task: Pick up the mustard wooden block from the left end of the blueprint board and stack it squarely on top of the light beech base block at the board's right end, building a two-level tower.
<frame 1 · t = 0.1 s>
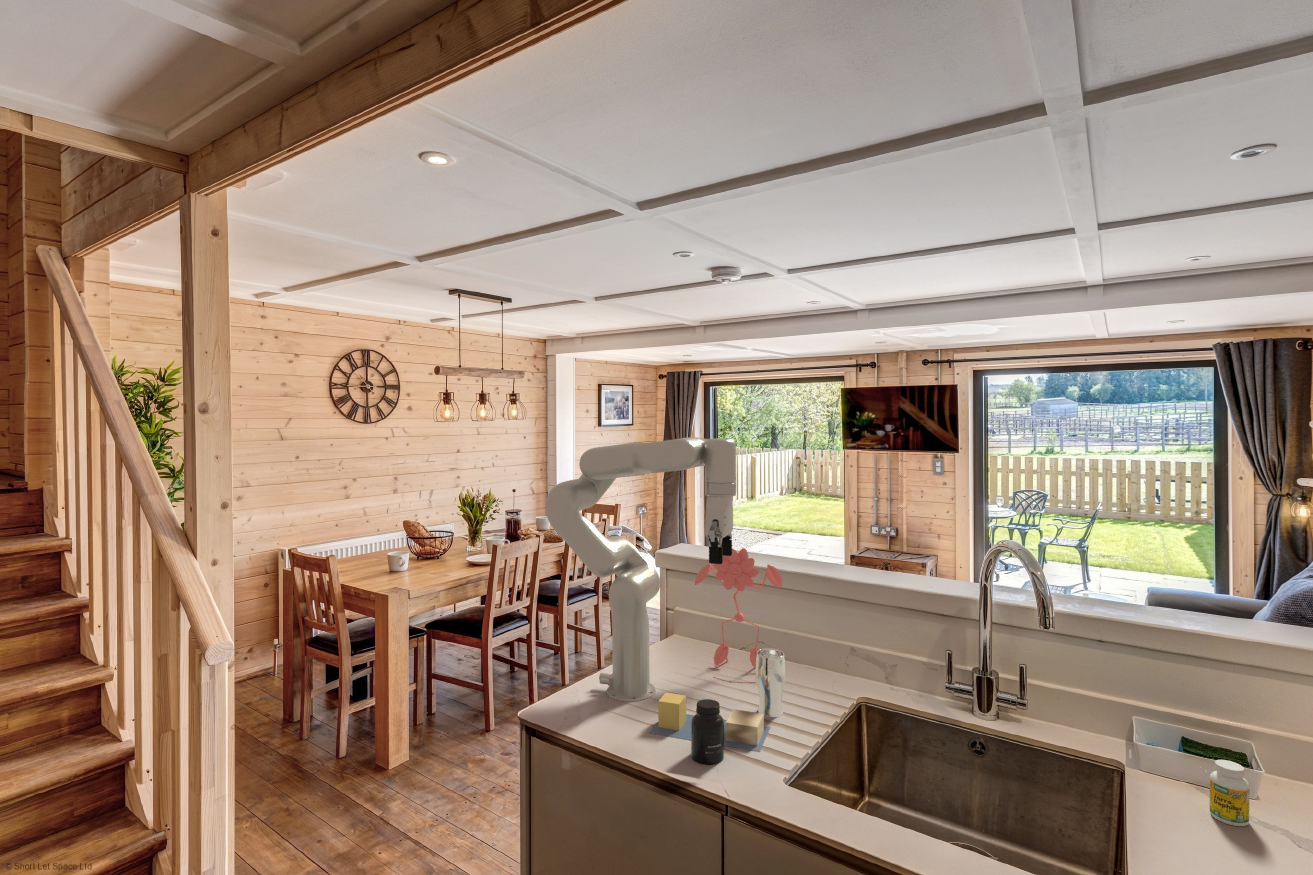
hand: (720, 559, 165), 37 cm above the worktop, tool pointing down, fingers open, 9 cm apart
blueprint board: (710, 733, 153), on the worktop
supplement bottle 2: (1228, 819, 120), on the worktop
beer glass: (770, 715, 162), on the worktop
beech base block: (745, 735, 150), resting on blueprint board
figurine: (735, 672, 189), on the worktop
mustard block: (672, 723, 156), point 1 cm above the worktop, touching blueprint board
supplement bottle: (707, 761, 141), on the worktop
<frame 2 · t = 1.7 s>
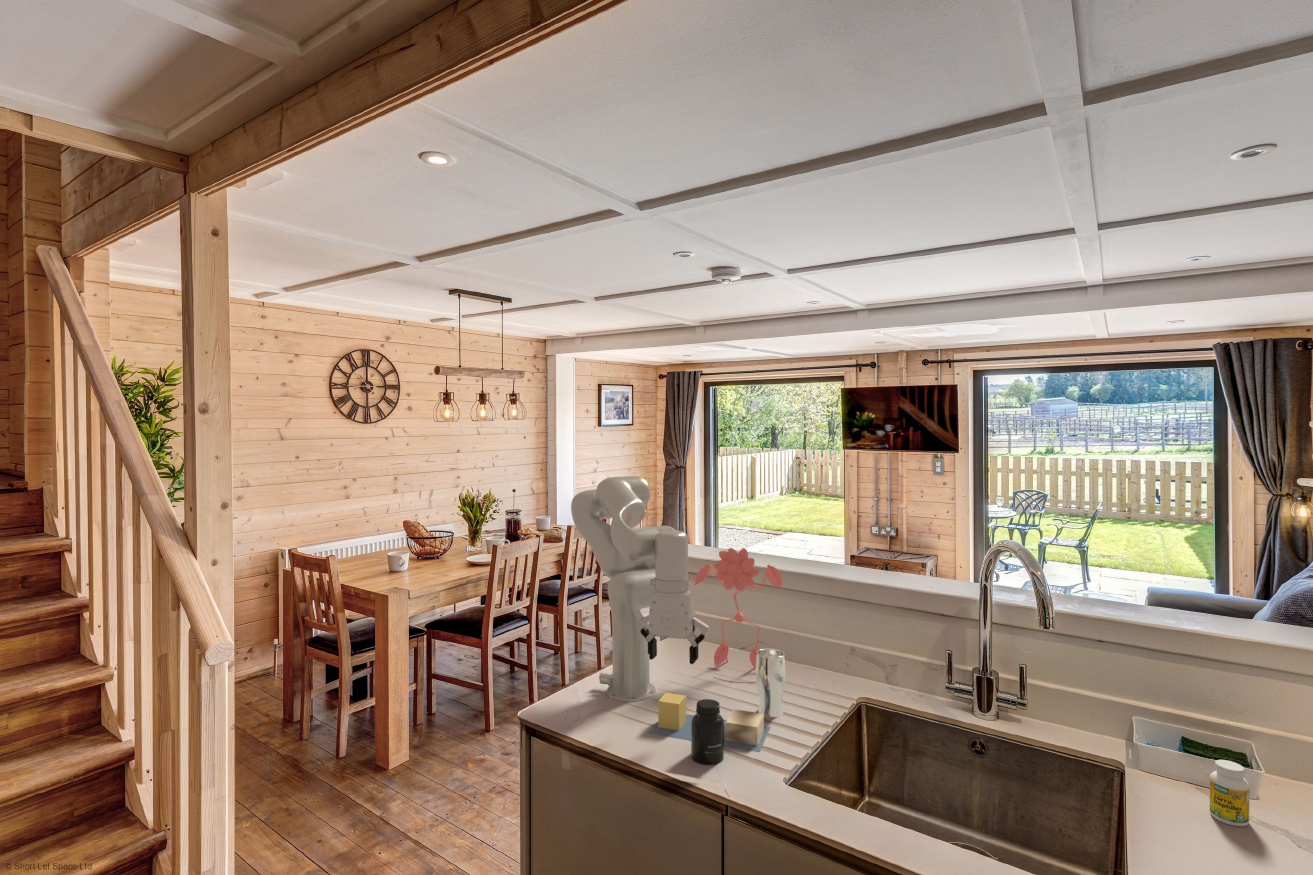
hand: (673, 659, 155), 16 cm above the worktop, tool pointing down, fingers open, 9 cm apart
nothing on the worktop moved.
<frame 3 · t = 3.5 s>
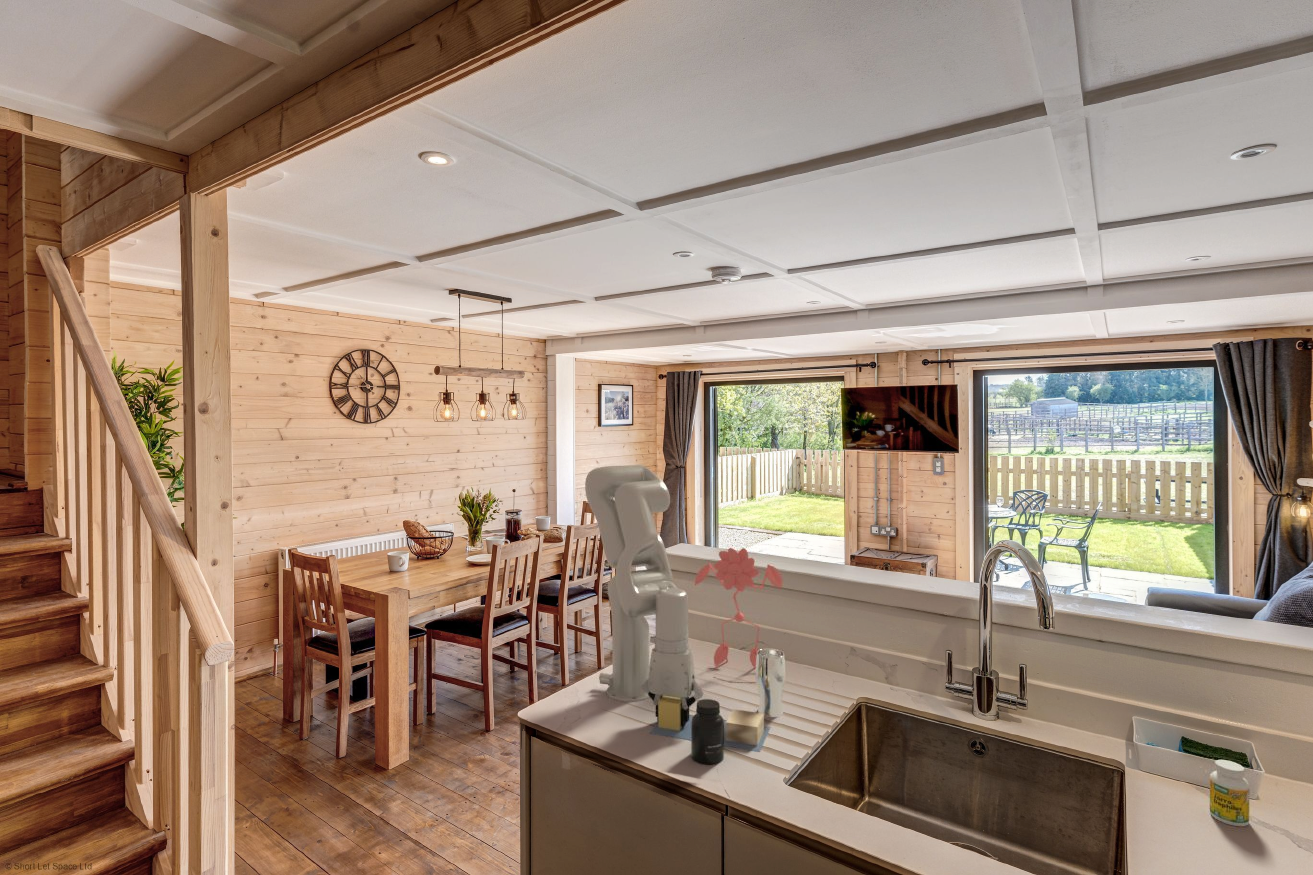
hand: (672, 721, 156), 1 cm above the worktop, tool pointing down, fingers closed on mustard block, 5 cm apart
mustard block: (672, 723, 156), point 1 cm above the worktop, touching blueprint board, gripper
everything else where it was.
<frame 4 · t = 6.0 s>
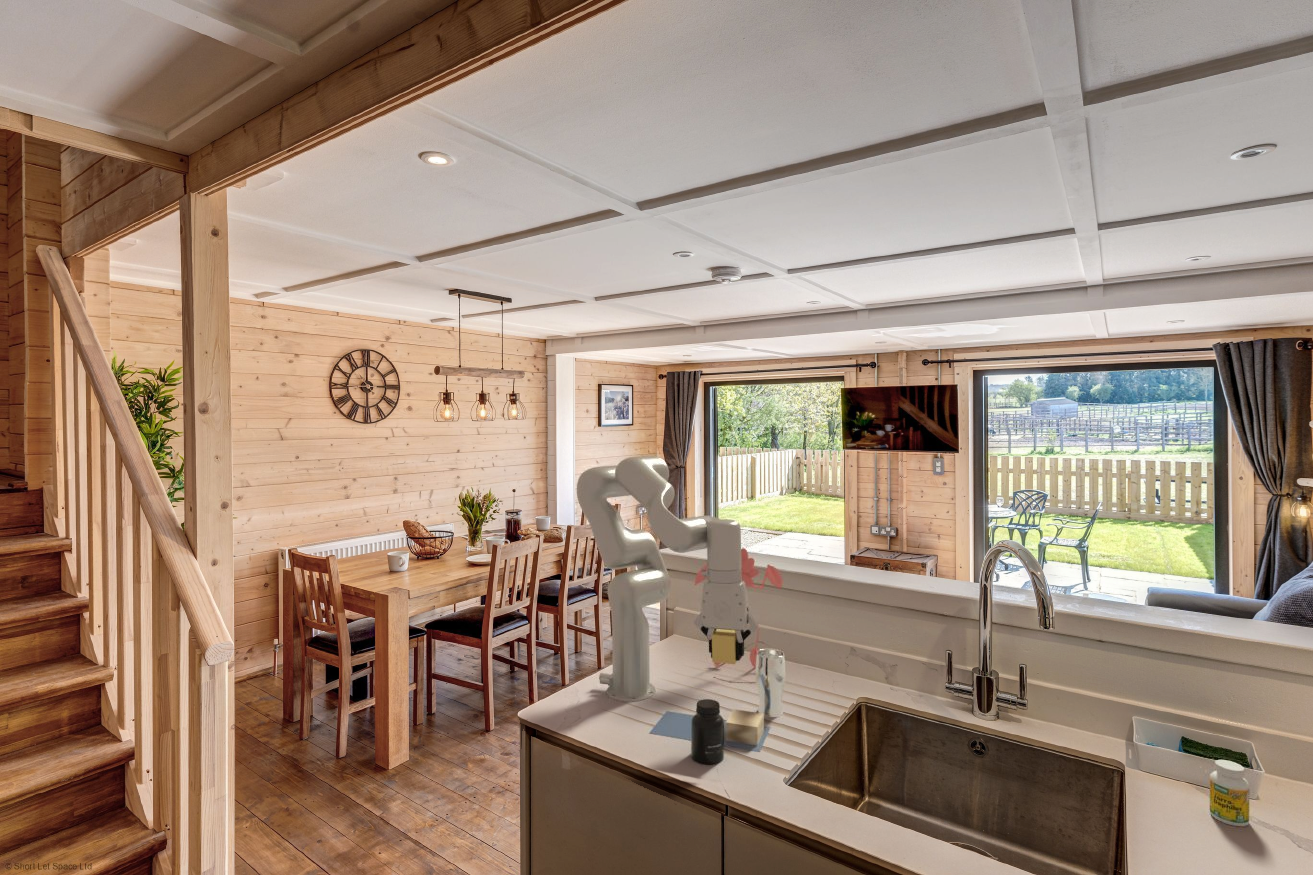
hand: (726, 656, 150), 18 cm above the worktop, tool pointing down, fingers closed on mustard block, 5 cm apart
mustard block: (726, 659, 150), point 18 cm above the worktop, touching gripper
everything else where it was.
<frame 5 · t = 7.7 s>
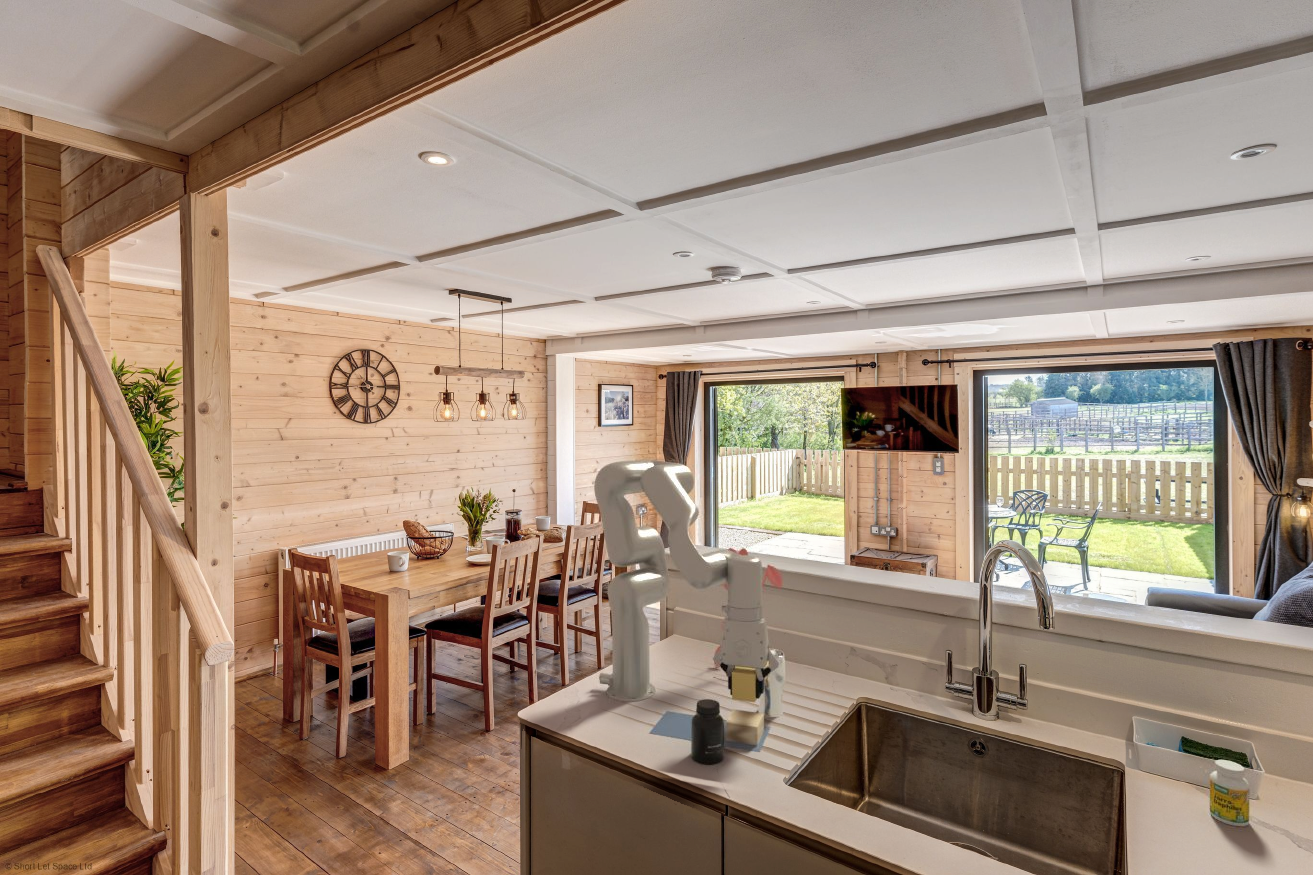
hand: (746, 693, 149), 10 cm above the worktop, tool pointing down, fingers closed on mustard block, 5 cm apart
mustard block: (745, 696, 149), point 10 cm above the worktop, touching gripper
everything else where it was.
when the fingers open (7 cm above the worktop, at t = 8.7 s): mustard block drops 1 cm, resting on beech base block.
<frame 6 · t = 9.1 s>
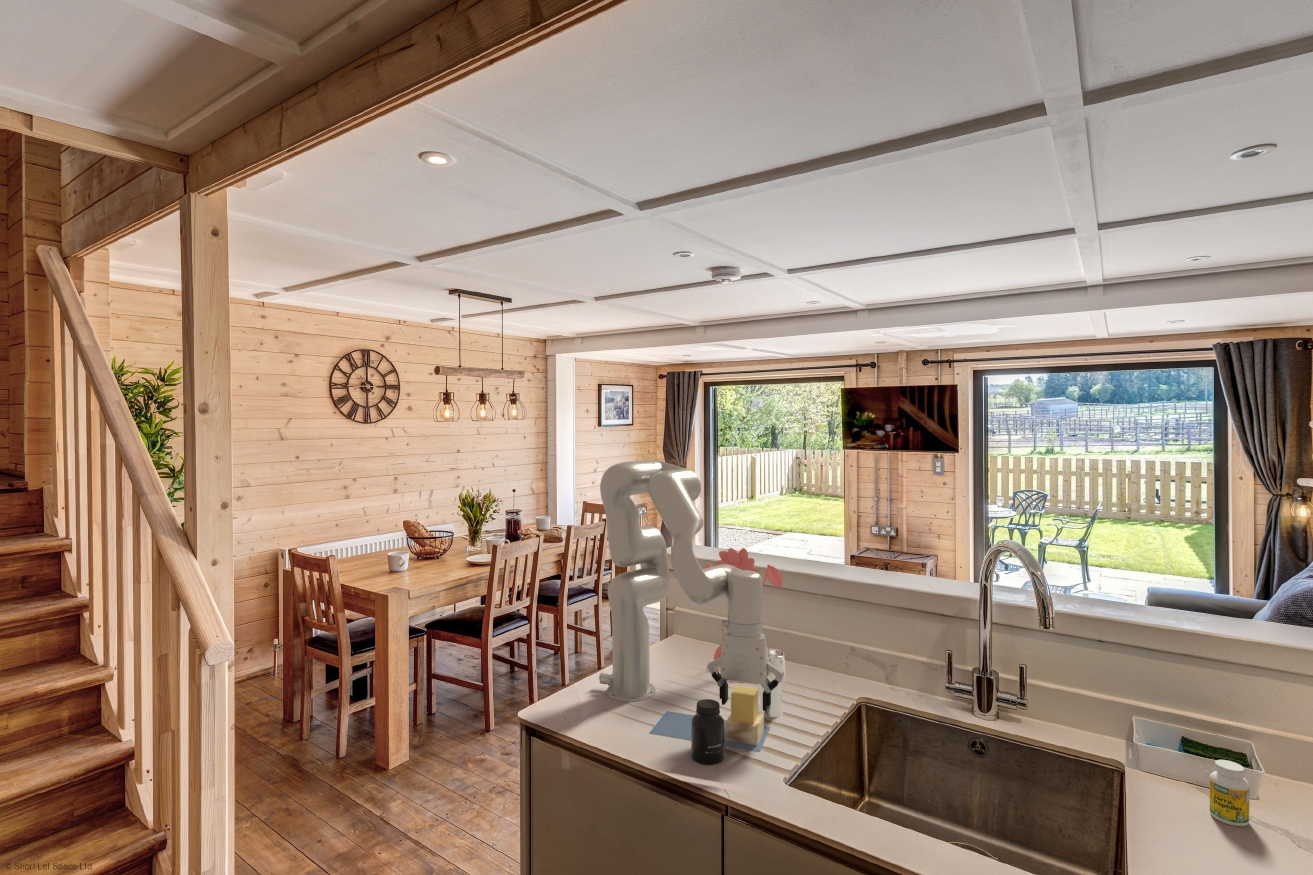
hand: (745, 705, 150), 8 cm above the worktop, tool pointing down, fingers open, 8 cm apart
mustard block: (744, 717, 150), point 5 cm above the worktop, touching beech base block
everything else where it was.
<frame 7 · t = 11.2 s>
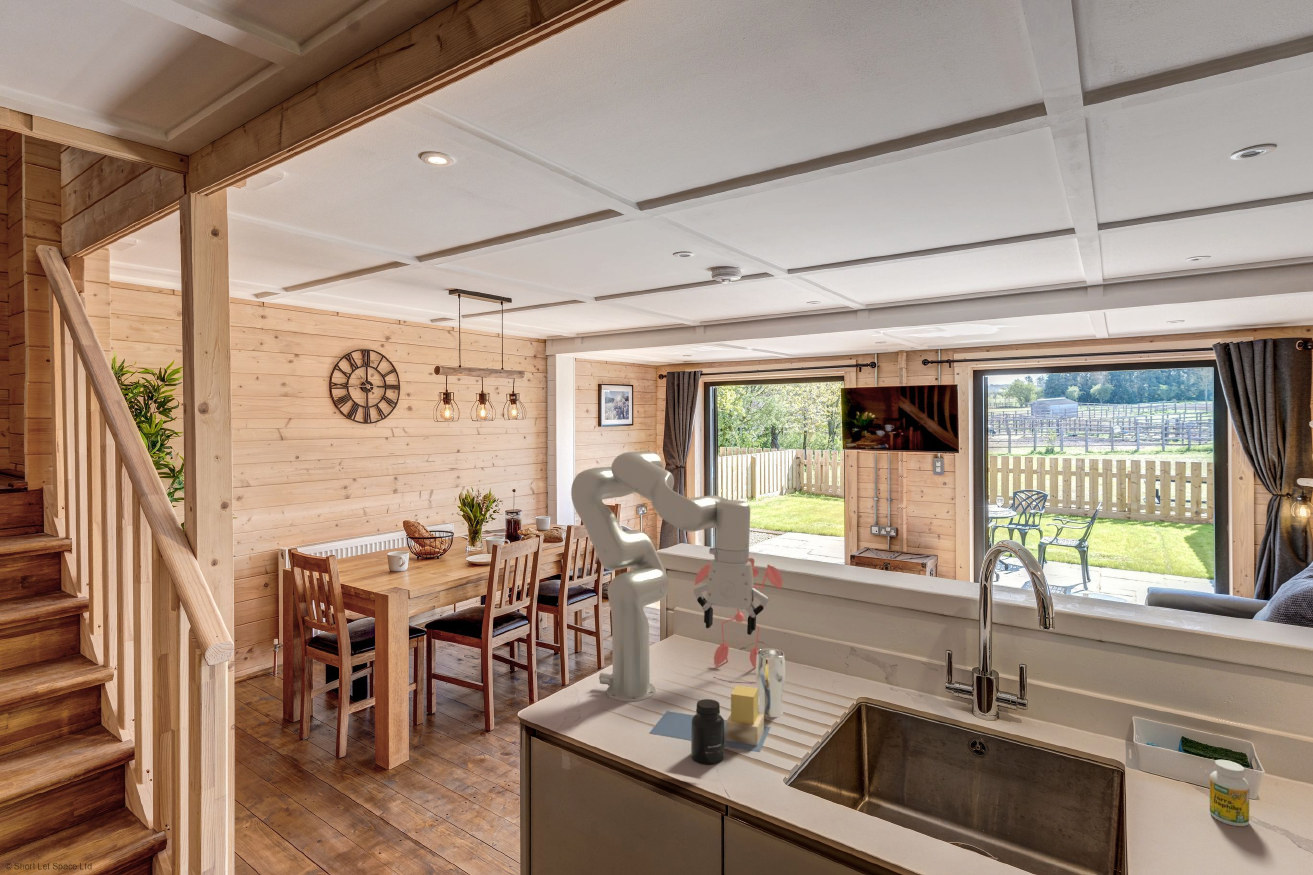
hand: (729, 629, 154), 23 cm above the worktop, tool pointing down, fingers open, 9 cm apart
nothing on the worktop moved.
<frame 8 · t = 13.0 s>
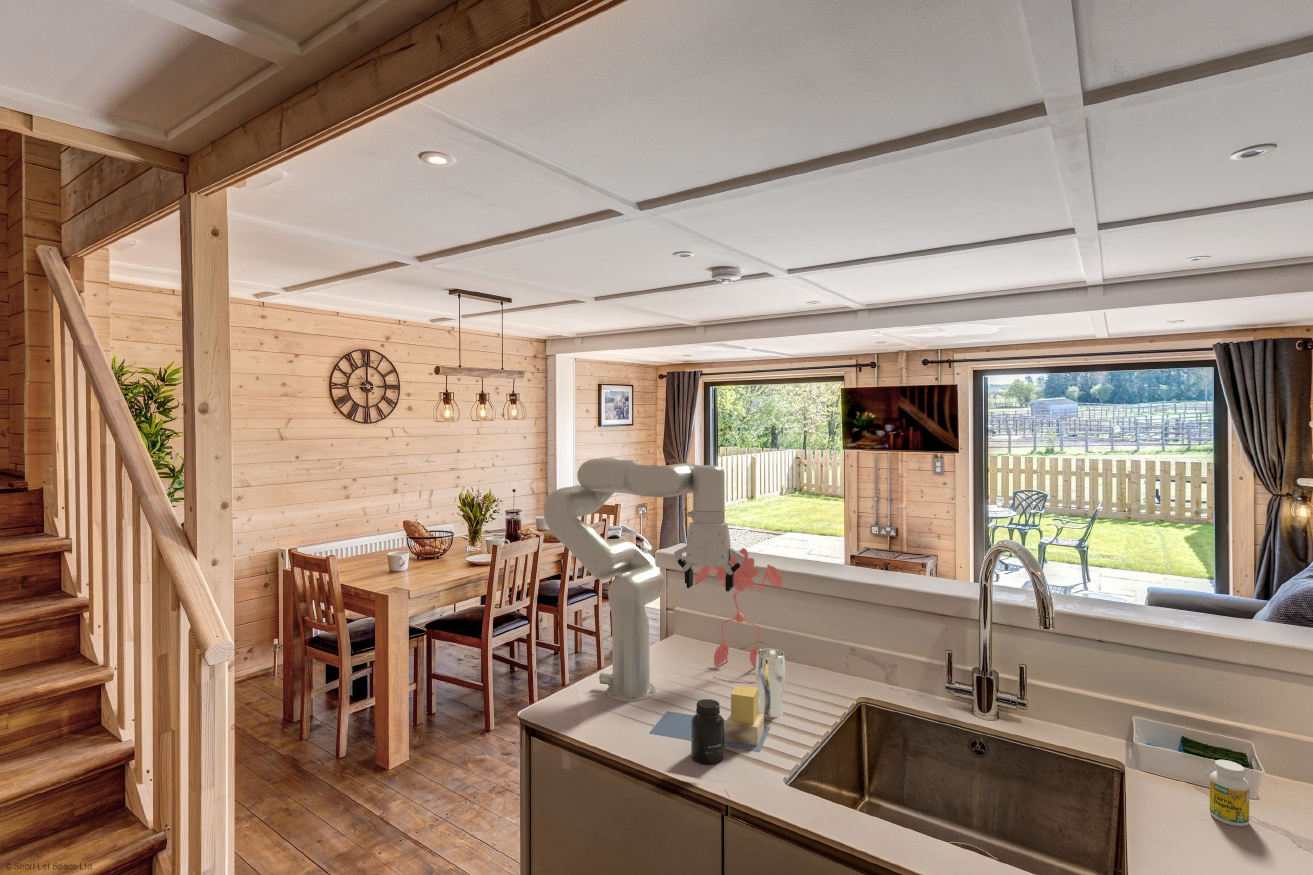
hand: (709, 588, 162), 30 cm above the worktop, tool pointing down, fingers open, 9 cm apart
nothing on the worktop moved.
at the end: mustard block 0.1 cm off-centre on the beech base block, point 4.0 cm above the beech base block's base; mustard block tilted 0°; the gripper is holding nothing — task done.
